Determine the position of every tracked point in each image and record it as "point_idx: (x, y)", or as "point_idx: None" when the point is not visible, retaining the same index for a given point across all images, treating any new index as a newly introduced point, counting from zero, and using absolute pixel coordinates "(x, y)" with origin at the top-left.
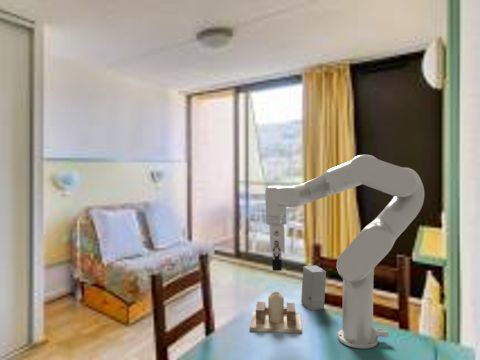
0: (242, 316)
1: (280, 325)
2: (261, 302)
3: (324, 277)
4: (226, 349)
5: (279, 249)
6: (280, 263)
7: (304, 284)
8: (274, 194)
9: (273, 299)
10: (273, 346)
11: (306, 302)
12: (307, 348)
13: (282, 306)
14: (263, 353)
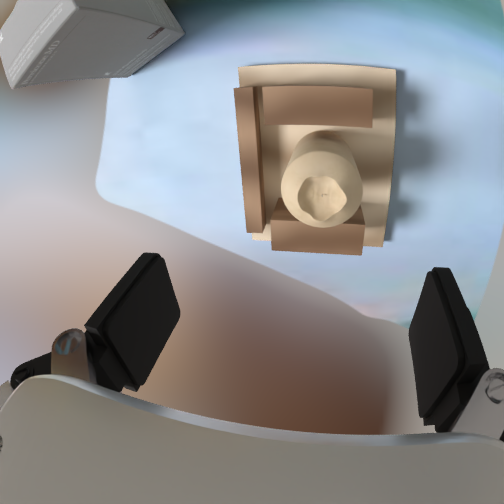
0: (277, 264)
1: (368, 144)
2: (279, 235)
3: None
4: (465, 289)
5: (94, 381)
6: (465, 329)
7: (89, 65)
8: None
9: (358, 205)
10: (474, 176)
11: (151, 51)
12: (484, 77)
13: (342, 148)
14: (499, 206)
